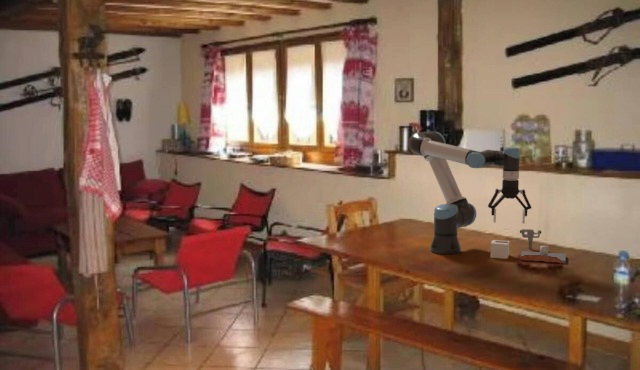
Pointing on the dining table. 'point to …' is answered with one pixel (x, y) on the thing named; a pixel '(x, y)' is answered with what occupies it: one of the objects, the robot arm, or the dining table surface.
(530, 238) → the mechanical component
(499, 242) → the cream slotted box
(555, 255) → the board
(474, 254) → the dining table surface
